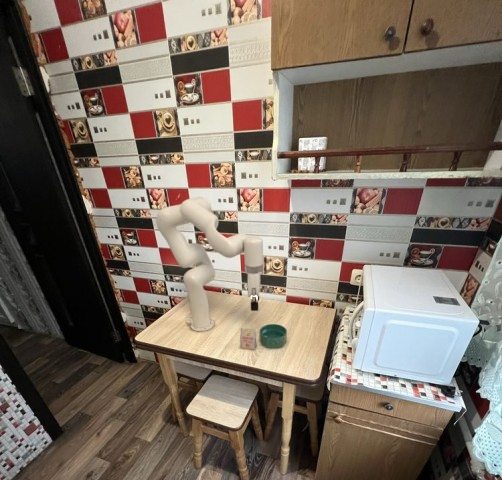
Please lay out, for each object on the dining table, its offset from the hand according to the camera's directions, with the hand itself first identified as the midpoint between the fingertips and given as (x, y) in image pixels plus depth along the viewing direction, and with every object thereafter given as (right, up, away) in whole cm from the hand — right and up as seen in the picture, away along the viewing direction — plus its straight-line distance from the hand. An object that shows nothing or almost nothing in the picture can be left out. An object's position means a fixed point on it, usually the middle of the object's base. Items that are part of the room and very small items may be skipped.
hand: (255, 305), depth 123 cm
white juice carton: (-3, -19, +9) cm, 21 cm away
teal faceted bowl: (+9, -16, +12) cm, 22 cm away
